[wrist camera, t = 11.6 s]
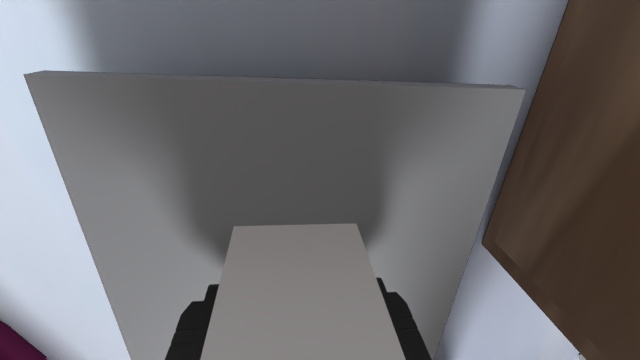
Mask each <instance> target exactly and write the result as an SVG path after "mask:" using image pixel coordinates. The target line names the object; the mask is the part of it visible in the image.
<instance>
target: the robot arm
mask: <svg viewBox="0 0 640 360" xmlns="http://www.w3.org/2000/svg"><path fill="white" fill-rule="evenodd" d="M376 279H377V282H378V285H379V287H380V290H381V293H382V296H383V299H384V301H385V304H386V307H387V310H388V312H389V315H390V318H391V321H392V323H393V326H394V329H395V332H396V335H397V337H398V340H399V343H400V346H401V348H402V351H403V354H404V357H405V359H406V360H432V359H431V357H430V355H429V352H428V350H427V348H426V345H425V343H424V341H423V339H422V336H421V334H420V332H419V331H418V327H417V325H416V323H415V320H414V319H413V316H412V314H411V311H410V309H409V307H408V304H407V303H406V302H405V300H404V299H403V298H402V297H401V296H400V295H399V294H398V293H397V292H387V290H386V288H385V285H384V283H383V280H382V279H381V278H380V277H377V278H376ZM218 287H219V284H210V285H209V286H208V288H207V292H206V295H205V298H204V301H192V302H191V303H190V304H189V306H188V307H187V308H186V309H185V310H184V312H183V313H182V314H181V316H180V319H179V322H178V324H177V327H176V331H175V333H174V336H173V338H172V341H171V346H170V347H169V350H168V352H167V355H166V358H165V360H200V359H201V355H202V351H203V347H204V343H205V339H206V335H207V331H208V327H209V323H210V319H211V315H212V311H213V307H214V303H215V299H216V295H217V291H218Z"/></svg>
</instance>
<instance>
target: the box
mask: <svg viewBox="0 0 640 360" xmlns="http://www.w3.org/2000/svg"><path fill="white" fill-rule="evenodd" d="M482 245H483V246H484V247H485V248H486V249H487V250H488V251H489V252H490V253H491V255H492V256H493V257H494V258H495V259H496V260H497V261H498V262H499V263H500V265H501V266H502V267H503V268H504V269H505V270H506V271H507V272H508V273H509V275H510V276H511V277H512V278H513V279H514V280H515V281H516V282H517V283H518V285H519V286H520V287H521V288H522V289H523V290H524V291H525V292H526V293H527V295H528V296H529V297H530V298H531V299H532V300H533V301H534V302H535V303H536V305H537V306H538V307H539V308H540V309H541V310H542V311H543V312H544V313H545V315H546V316H547V317H548V318H549V319H550V320H551V321H552V322H553V323H554V325H555V326H556V327H557V328H558V329H559V330H560V331H561V332H562V333H563V335H564V336H565V337H566V338H567V339H568V340H569V341H570V342H571V343H572V345H573V346H574V347H575V348H576V349H577V350H578V351H579V352H580V353H581V355H582V356H583V357H584V358H585V359H586V360H640V0H569V3H568V6H567V8H566V11H565V14H564V17H563V20H562V22H561V25H560V28H559V31H558V33H557V36H556V39H555V42H554V45H553V47H552V50H551V53H550V56H549V58H548V61H547V64H546V67H545V69H544V72H543V75H542V78H541V81H540V83H539V86H538V89H537V92H536V94H535V97H534V100H533V103H532V106H531V108H530V111H529V114H528V117H527V119H526V122H525V125H524V128H523V131H522V133H521V136H520V139H519V142H518V144H517V147H516V150H515V153H514V155H513V158H512V161H511V164H510V167H509V169H508V172H507V175H506V178H505V180H504V183H503V186H502V189H501V192H500V194H499V197H498V200H497V203H496V205H495V208H494V211H493V214H492V217H491V219H490V222H489V225H488V228H487V230H486V233H485V236H484V239H483V242H482Z"/></svg>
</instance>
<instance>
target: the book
mask: <svg viewBox="0 0 640 360" xmlns="http://www.w3.org/2000/svg"><path fill="white" fill-rule="evenodd" d="M0 360H47V359H46V356H45V355H43V354H42V353H41V352H40V351H39V350H37V349H36V348H35V347H34V346H32V345H31V344H30V343H29V342H28V341H26V340H25V339H24V338H23V337H22V336H20V335H19V334H18V333H17V332H15V331H14V330H13V329H12V328H11V327H9V326H8V325H7V324H5V323H3V322H1V321H0Z"/></svg>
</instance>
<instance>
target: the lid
mask: <svg viewBox="0 0 640 360" xmlns="http://www.w3.org/2000/svg"><path fill="white" fill-rule="evenodd" d="M24 77H25V80H26V83H27V85H28V88H29V90H30V93H31V96H32V98H33V101H34V104H35V106H36V109H37V112H38V114H39V117H40V120H41V122H42V125H43V128H44V130H45V133H46V135H47V138H48V141H49V143H50V146H51V149H52V151H53V154H54V157H55V159H56V162H57V165H58V167H59V170H60V173H61V175H62V178H63V180H64V183H65V186H66V188H67V191H68V194H69V196H70V199H71V202H72V204H73V207H74V210H75V212H76V215H77V218H78V220H79V223H80V225H81V228H82V231H83V233H84V236H85V239H86V241H87V244H88V247H89V249H90V252H91V255H92V257H93V260H94V263H95V265H96V268H97V270H98V273H99V276H100V278H101V281H102V284H103V286H104V289H105V292H106V294H107V297H108V300H109V302H110V305H111V308H112V310H113V313H114V315H115V318H116V321H117V323H118V326H119V329H120V331H121V334H122V337H123V339H124V342H125V345H126V347H127V350H128V353H129V355H130V358H131V360H165V358H166V355H167V352H168V350H169V347H170V346H171V341H172V338H173V336H174V333H175V331H176V327H177V324H178V322H179V319H180V316H181V314H182V313H183V312H184V310H185V309H186V308H187V307H188V306H189V304H190V303H191V302H192V301H204V298H205V295H206V292H207V288H208V286H209V285H210V284H219V287H218V291H217V295H216V299H215V303H214V307H213V311H212V315H211V319H210V323H209V327H208V331H207V335H206V339H205V343H204V347H203V351H202V355H201V359H200V360H406V359H405V357H404V354H403V351H402V348H401V346H400V343H399V340H398V337H397V335H396V332H395V329H394V326H393V323H392V321H391V318H390V315H389V312H388V310H387V307H386V304H385V301H384V299H383V296H382V293H381V290H380V287H379V285H378V282H377V279H376V278H377V277H380V278H381V279H382V280H383V283H384V285H385V288H386V290H387V292H397V293H398V294H399V295H400V296H401V297H402V298H403V299H404V300H405V302H406V303H407V304H408V307H409V309H410V311H411V314H412V316H413V319H414V320H415V323H416V325H417V327H418V331H419V332H420V334H421V336H422V339H423V341H424V343H425V345H426V348H427V350H428V352H429V355H430V357H431V359H432V360H434V357H435V354H436V351H437V348H438V345H439V342H440V340H441V337H442V334H443V331H444V328H445V325H446V322H447V319H448V316H449V313H450V310H451V308H452V305H453V302H454V299H455V296H456V293H457V290H458V287H459V284H460V281H461V278H462V276H463V273H464V270H465V267H466V264H467V261H468V258H469V255H470V252H471V249H472V247H473V244H474V241H475V238H476V235H477V232H478V229H479V226H480V223H481V220H482V217H483V215H484V212H485V209H486V206H487V203H488V200H489V197H490V194H491V191H492V188H493V185H494V183H495V180H496V177H497V174H498V171H499V168H500V165H501V162H502V159H503V156H504V154H505V151H506V148H507V145H508V142H509V139H510V136H511V133H512V130H513V127H514V124H515V122H516V119H517V116H518V113H519V110H520V107H521V104H522V101H523V98H524V95H525V93H526V89H523V88H519V87H515V86H511V85H489V84H457V83H425V82H393V81H362V80H330V79H298V78H266V77H234V76H202V75H170V74H139V73H107V72H75V71H40V72H34V73H29V74H24Z"/></svg>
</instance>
